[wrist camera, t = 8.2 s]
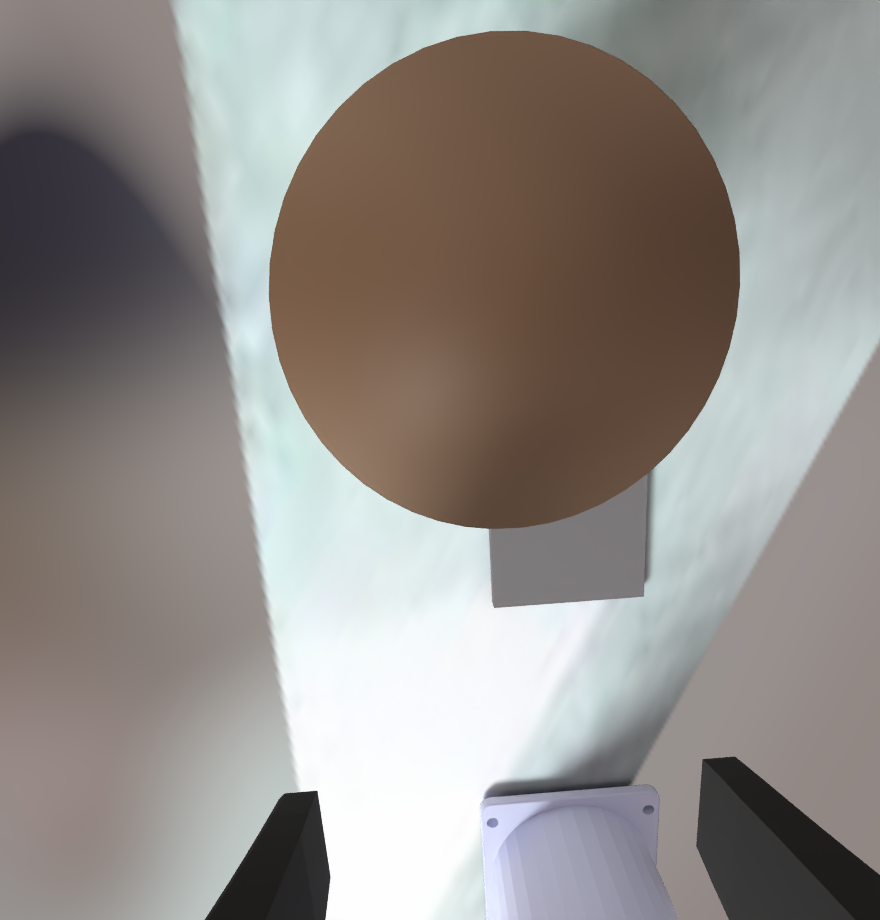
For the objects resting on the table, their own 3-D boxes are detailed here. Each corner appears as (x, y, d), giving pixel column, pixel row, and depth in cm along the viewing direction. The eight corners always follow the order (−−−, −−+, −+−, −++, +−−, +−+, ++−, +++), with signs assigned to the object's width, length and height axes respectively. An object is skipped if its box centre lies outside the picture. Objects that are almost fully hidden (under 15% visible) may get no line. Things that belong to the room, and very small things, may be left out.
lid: (628, 455, 9) (729, 507, 6) (347, 483, 9) (309, 549, 6) (626, 139, 8) (752, 7, 5) (302, 169, 8) (225, 55, 5)
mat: (638, 590, 19) (643, 596, 19) (492, 601, 19) (494, 607, 19) (643, 420, 18) (649, 423, 17) (484, 432, 18) (486, 434, 17)
